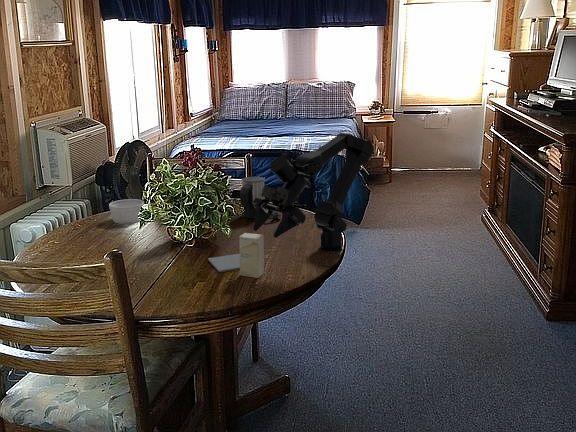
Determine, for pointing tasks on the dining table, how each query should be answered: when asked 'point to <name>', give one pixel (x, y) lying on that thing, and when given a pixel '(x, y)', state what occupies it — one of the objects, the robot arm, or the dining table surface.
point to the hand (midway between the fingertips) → (264, 233)
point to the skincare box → (251, 255)
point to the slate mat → (226, 262)
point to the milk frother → (252, 196)
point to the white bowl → (126, 210)
